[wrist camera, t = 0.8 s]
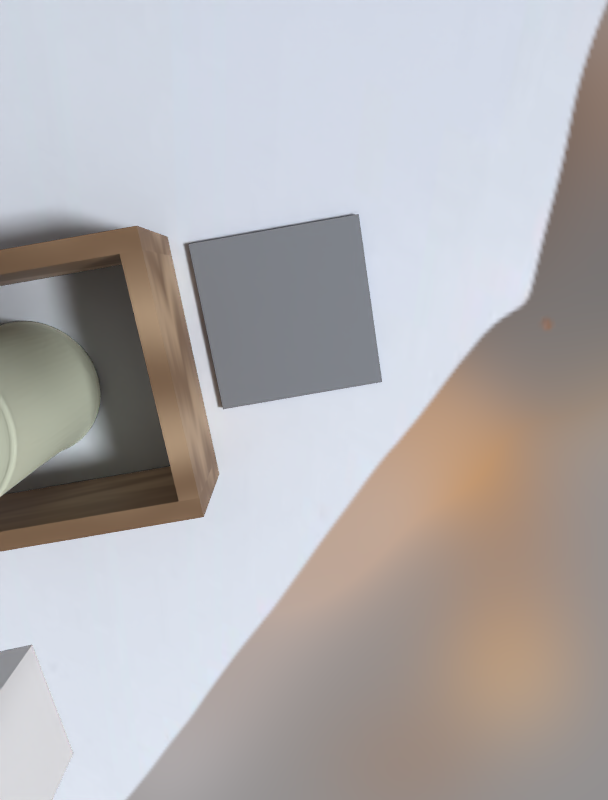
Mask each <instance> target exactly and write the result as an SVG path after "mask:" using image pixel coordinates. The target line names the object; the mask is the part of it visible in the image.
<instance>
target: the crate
mask: <svg viewBox="0 0 608 800" xmlns="http://www.w3.org/2000/svg"><path fill="white" fill-rule="evenodd" d="M117 265H122V266H123V270H124V275H125V279H126V283H127V287H128V291H129V295H130V300H131V304H132V308H133V312H134V316H135V321H136V325H137V329H138V333H139V337H140V341H141V346H142V350H143V354H144V358H145V362H146V367H147V371H148V375H149V379H150V383H151V387H152V392H153V396H154V400H155V404H156V408H157V413H158V417H159V421H160V425H161V429H162V433H163V438H164V442H165V446H166V450H167V454H168V459H169V463H170V466H168V467H162V468H157V469H151V470H145V471H139V472H133V473H127V474H121V475H116V476H110V477H104V478H98V479H92V480H86V481H80V482H75V483H69V484H63V485H57V486H51V487H45V488H40V489H34V490H28V491H22V492H16V493H10V494H4V495H2V496H1V497H0V551H6V550H12V549H18V548H23V547H29V546H35V545H41V544H47V543H53V542H59V541H65V540H71V539H76V538H82V537H88V536H94V535H100V534H106V533H112V532H118V531H124V530H129V529H135V528H141V527H147V526H153V525H159V524H165V523H171V522H177V521H183V520H188V519H194V518H200V517H204V514H205V512H206V509H207V506H208V503H209V501H210V498H211V495H212V492H213V490H214V487H215V484H216V482H217V479H218V476H219V471H218V467H217V462H216V457H215V453H214V448H213V444H212V439H211V434H210V430H209V425H208V421H207V416H206V412H205V407H204V402H203V398H202V393H201V389H200V384H199V379H198V375H197V370H196V366H195V361H194V357H193V352H192V347H191V343H190V338H189V334H188V329H187V324H186V320H185V315H184V311H183V306H182V302H181V297H180V292H179V288H178V283H177V279H176V274H175V269H174V265H173V260H172V256H171V251H170V247H169V242H168V237H166V236H164V235H161V234H158V233H155V232H153V231H150V230H147V229H144V228H141V227H139V226H133V227H127V228H121V229H116V230H110V231H104V232H99V233H93V234H87V235H82V236H76V237H70V238H65V239H59V240H53V241H48V242H42V243H36V244H31V245H25V246H19V247H14V248H8V249H2V250H0V286H3V285H9V284H14V283H20V282H26V281H32V280H37V279H43V278H49V277H54V276H60V275H66V274H71V273H77V272H83V271H88V270H94V269H100V268H106V267H111V266H117Z"/></svg>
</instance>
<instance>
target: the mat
mask: <svg viewBox="0 0 608 800" xmlns="http://www.w3.org/2000/svg"><path fill="white" fill-rule="evenodd" d="M189 249H190V254H191V259H192V263H193V268H194V273H195V278H196V282H197V287H198V292H199V297H200V301H201V306H202V311H203V316H204V320H205V325H206V330H207V335H208V339H209V344H210V349H211V354H212V358H213V363H214V368H215V373H216V377H217V382H218V387H219V392H220V396H221V401H222V406H223V409H227V408H233V407H238V406H244V405H250V404H256V403H262V402H268V401H273V400H279V399H285V398H291V397H297V396H302V395H308V394H314V393H320V392H326V391H332V390H337V389H343V388H349V387H355V386H361V385H366V384H372V383H378V382H382V378H381V371H380V364H379V357H378V350H377V342H376V335H375V328H374V321H373V314H372V307H371V299H370V292H369V285H368V278H367V271H366V264H365V257H364V249H363V242H362V235H361V228H360V221H359V214H357V215H351V216H345V217H340V218H334V219H328V220H323V221H317V222H311V223H306V224H300V225H294V226H289V227H283V228H277V229H272V230H266V231H260V232H254V233H249V234H243V235H237V236H232V237H226V238H220V239H215V240H209V241H203V242H198V243H192V244H189Z"/></svg>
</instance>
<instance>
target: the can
mask: <svg viewBox="0 0 608 800" xmlns="http://www.w3.org/2000/svg"><path fill="white" fill-rule="evenodd" d="M100 397H101V392H100V383H99V379H98V375H97V372H96V369H95V367H94V365H93V363H92V361H91V360H90V358H89V356H88V355H87V353H86V352H85V351H84V350H83V349H82V347H81V346H80V345H79V344H78V343H77V342H75V341H74V340H73V339H72V338H71V337H69V336H68V335H66V334H65V333H63V332H62V331H60V330H58V329H56V328H53V327H51V326H48V325H45V324H41V323H37V322H29V321H20V322H11V323H6V324H3V325H0V497H1V496H2V495H3V494H5V493H6V492H7V491H8V490H10V489H11V488H12V487H14V486H15V485H16V484H18V483H19V482H20V481H22V480H23V479H24V478H26V477H27V476H28V475H29V474H31V473H32V472H33V471H35V470H36V469H37V468H39V467H40V466H41V465H43V464H44V463H45V462H47V461H48V460H50V459H51V458H52V457H54V456H55V455H57V454H58V453H59V452H61V451H63V450H65V449H67V448H69V447H71V446H73V445H74V444H76V443H77V442H78V441H80V440H81V439H82V438H83V437H84V436H85V435H86V434H87V432H88V431H89V430H90V428H91V427H92V425H93V423H94V422H95V419H96V417H97V414H98V411H99V406H100Z"/></svg>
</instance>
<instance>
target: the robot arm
mask: <svg viewBox="0 0 608 800" xmlns="http://www.w3.org/2000/svg"><path fill="white" fill-rule="evenodd" d="M73 754H74V753H73V750H72V748H71V745H70V742H69V740H68V737H67V734H66V732H65V729H64V727H63V724H62V721H61V719H60V716H59V713H58V711H57V708H56V706H55V703H54V700H53V698H52V695H51V692H50V690H49V687H48V685H47V682H46V679H45V677H44V674H43V671H42V669H41V666H40V664H39V661H38V658H37V656H36V653H35V650H34V648H33V645H28V646H24V647H19V648H14V649H9V650H4V651H0V800H53V798H54V795H55V793H56V791H57V789H58V787H59V784H60V782H61V780H62V778H63V776H64V773H65V771H66V769H67V767H68V765H69V763H70V760H71V758H72V756H73Z"/></svg>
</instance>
